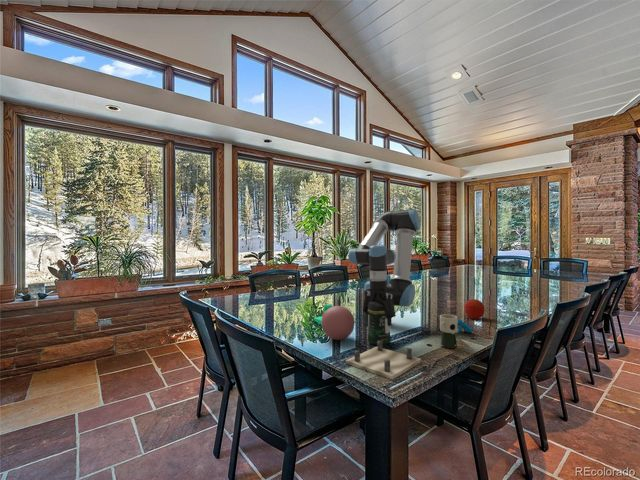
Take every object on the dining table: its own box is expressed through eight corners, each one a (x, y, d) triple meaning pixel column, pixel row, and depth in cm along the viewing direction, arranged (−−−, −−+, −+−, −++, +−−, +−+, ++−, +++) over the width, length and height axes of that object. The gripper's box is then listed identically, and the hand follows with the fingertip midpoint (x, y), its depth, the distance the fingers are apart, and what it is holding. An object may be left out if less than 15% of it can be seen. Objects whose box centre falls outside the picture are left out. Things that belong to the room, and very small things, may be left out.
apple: (488, 320, 173) (488, 299, 173) (469, 320, 173) (469, 300, 173) (479, 316, 183) (478, 296, 183) (461, 316, 183) (461, 296, 183)
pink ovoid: (338, 329, 161) (338, 299, 160) (361, 341, 143) (360, 307, 143) (311, 334, 154) (311, 303, 153) (331, 347, 136) (331, 311, 136)
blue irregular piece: (477, 332, 148) (462, 317, 147) (470, 342, 146) (455, 327, 146) (464, 328, 158) (449, 315, 158) (457, 338, 157) (442, 324, 157)
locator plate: (345, 363, 118) (345, 350, 118) (376, 349, 132) (376, 338, 132) (392, 379, 104) (392, 365, 104) (421, 362, 118) (420, 349, 118)
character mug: (449, 352, 127) (449, 320, 127) (434, 347, 133) (433, 316, 133) (463, 346, 134) (463, 315, 134) (448, 341, 140) (448, 312, 140)
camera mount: (313, 322, 176) (313, 304, 176) (324, 320, 180) (324, 302, 180) (326, 327, 166) (326, 307, 166) (337, 324, 171) (337, 305, 171)
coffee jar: (375, 347, 135) (374, 303, 135) (365, 341, 142) (364, 300, 142) (393, 343, 139) (393, 301, 139) (382, 338, 146) (382, 298, 146)
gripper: (354, 278, 145) (355, 327, 145) (394, 283, 130) (395, 337, 130) (364, 277, 150) (364, 324, 151) (403, 281, 136) (404, 333, 136)
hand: (379, 330), depth 140 cm, fingers closed on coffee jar, 8 cm apart
